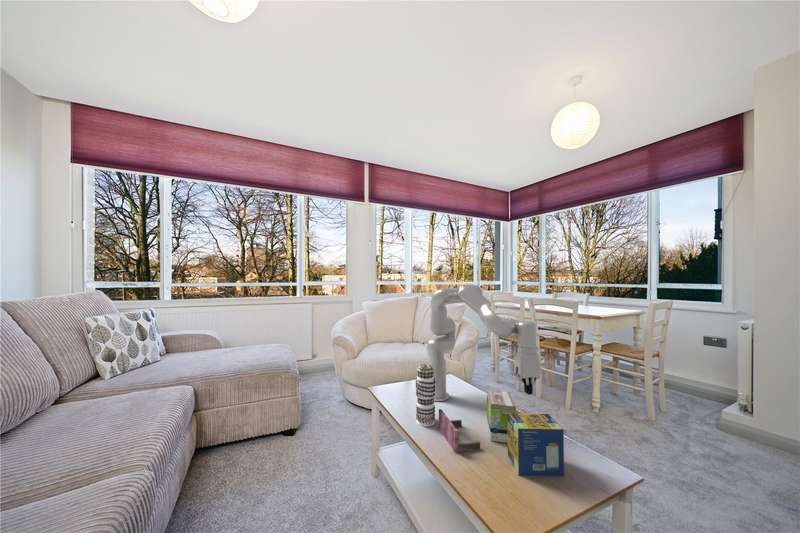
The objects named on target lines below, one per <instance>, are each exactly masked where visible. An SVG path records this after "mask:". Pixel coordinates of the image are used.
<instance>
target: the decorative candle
mask: <svg viewBox="0 0 800 533" xmlns="http://www.w3.org/2000/svg"><path fill="white" fill-rule="evenodd" d="M415 370H416V373H417V374H416V380H415V388H416V389H415V396H416V397H417V398H416V399H417V400H416V417H415V418H416V424H418V425H419V426H422V427H431V426H434V425H435V424H436V413H435V412H436V406H435V401H434V397H435V393H434V392H435V389H434V388H435V385H433V384H435V383H436V382H435V381H434V380H435V377H434V368H432V366H431V365H428V364H427V363H426V364H425V363H423V364H420V365H418V367H416V369H415Z"/></svg>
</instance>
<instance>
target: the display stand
mask: <svg viewBox="0 0 800 533" xmlns="http://www.w3.org/2000/svg"><path fill="white" fill-rule="evenodd" d="M462 423H463V422H462V419H455V420H454V419H453V420H450V419H449V417H448V416H447V415H446V413H445V412H444V410H442V409H441V408H439V409H438V429H439V431H440V432H441V434H442V435H443V437H444V438H445V440H446V441H447V443H448V444H449V446H450V447H451V449H452V451H453V452H454V453H455V454H458V453H459V454H460V453H464V452H465V453H466V452H472V451H480V450H481V441H471V442H465V443H459V431H458V429H457V428H462V426H463V425H462Z"/></svg>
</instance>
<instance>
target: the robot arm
mask: <svg viewBox="0 0 800 533" xmlns="http://www.w3.org/2000/svg"><path fill="white" fill-rule="evenodd" d="M483 294H484V293H483V290H482V289H481V287H480V286H479V285H476V284H466V285H465V284H464V285H463V286H459V287H445V288H441V289H437V290H436V291H435V292H433V293H432V296H431V300H430V302H431V303H430V305H431V306H430V308H431V311H430V312H431V313H430V314H431V315H430V328H429V330H430V332H431V334H432V335H433V336H435V337H434V338H432V339H430V340H429V341H428V342H427V344H426V353H427V358H428V361H427V362H428V365H431V366H432V368H434V377H435V380H434V381H435V382H436V383H435V384H433V385H435V388H434V389H435V392H434V393H435V397H434V402H444V401H447V400H449V398H450V393H449V392H447V362H446V359H445V356H444V355H446V354H448V353H451V352H452V351H453V350H454V348H455V345H456V322H455V321H454V319H453V318H452V317H450V316H447V315H448V311H447V310H448V309H447V306H446V305H453V304H460V303H464V304H466V305H467V307H469V308H470V309H471V310H472V311H474V312H475V313H476V314H477V315H478V316H479V318H480V320H481V322H482V323H483V325H484V326H485V327H486V328H487V329H488V330H489V331H491V333H493V335H495V336H496V337H498V338H501V339H508V338H511V337H515V336H516V337H517V338H516V339H517V352H515V356H514V364H513V365H514V366H513V367H514V371H513V372H514V375H515V380H516V381H520V382H521V383H523V390H524V393H525V394H527V395H529V396H530V395H533V394H534V393H533V392H534V390H533V389H534V386H533V385H534V384H535V381H537V380H539V379H540V378H541V374H542V372H541V363H540V361H541V360H540V356H539V354H538V352H537V351H539V347H538V346H537V327H536V326H537V325H536V323H535V322H534V321H531V320H518V319H514V318H508V319H504V320H503V319H502V318H500V317H499V316H498V315H497V314H496V313H495V312H494V310H492V302H491V301H490V300H489V299H488V298H487V297H485V296H484V295H483Z"/></svg>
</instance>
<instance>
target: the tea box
mask: <svg viewBox="0 0 800 533" xmlns="http://www.w3.org/2000/svg"><path fill="white" fill-rule="evenodd" d="M507 414H517V407H516V404H515V402H514V399H513V397H512V394H511V393H510V392H509V391H503V390H501V391H499V390H491V389H490V390H489V389H487V390H486V423H487V429H488V434H489V439H490V442H491V441H492V442H497V443H507V444H508V425H507Z"/></svg>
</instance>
